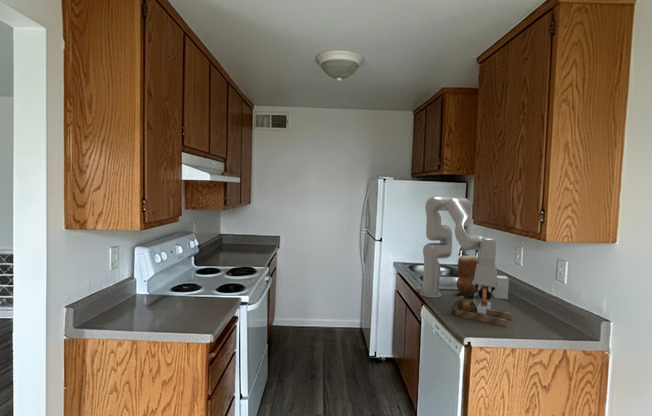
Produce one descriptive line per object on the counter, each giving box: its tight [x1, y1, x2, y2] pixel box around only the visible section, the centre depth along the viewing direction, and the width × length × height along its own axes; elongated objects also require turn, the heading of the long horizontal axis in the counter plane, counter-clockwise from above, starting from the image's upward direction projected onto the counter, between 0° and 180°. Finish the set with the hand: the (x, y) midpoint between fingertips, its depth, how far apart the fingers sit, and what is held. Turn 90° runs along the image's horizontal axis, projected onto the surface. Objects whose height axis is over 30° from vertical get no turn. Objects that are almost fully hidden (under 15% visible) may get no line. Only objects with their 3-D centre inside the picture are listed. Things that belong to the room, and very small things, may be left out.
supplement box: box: [492, 275, 510, 300], centre depth 229 cm, size 7×7×13 cm
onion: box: [461, 299, 479, 313], centre depth 193 cm, size 8×8×8 cm
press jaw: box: [477, 285, 492, 316], centre depth 189 cm, size 4×10×15 cm, turn 145°
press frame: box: [451, 295, 512, 328], centre depth 190 cm, size 25×14×7 cm, turn 55°
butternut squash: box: [456, 255, 479, 298], centre depth 228 cm, size 14×13×25 cm
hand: (484, 298), depth 189 cm, fingers closed on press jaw, 3 cm apart
